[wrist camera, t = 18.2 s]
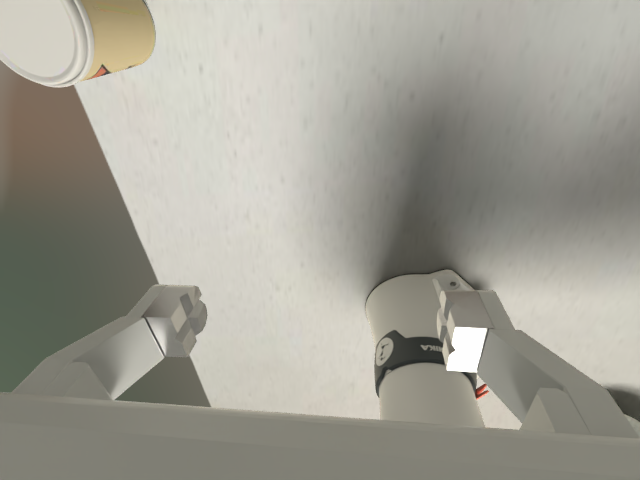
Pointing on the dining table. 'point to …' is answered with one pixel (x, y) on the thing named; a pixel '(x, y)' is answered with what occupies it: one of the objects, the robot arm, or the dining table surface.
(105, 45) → the coffee cup
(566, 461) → the robot arm
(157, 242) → the dining table surface
